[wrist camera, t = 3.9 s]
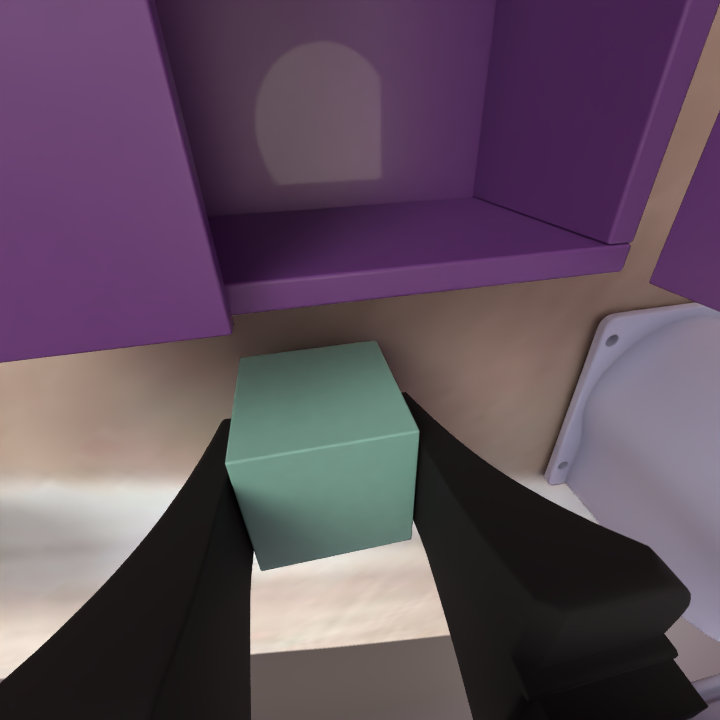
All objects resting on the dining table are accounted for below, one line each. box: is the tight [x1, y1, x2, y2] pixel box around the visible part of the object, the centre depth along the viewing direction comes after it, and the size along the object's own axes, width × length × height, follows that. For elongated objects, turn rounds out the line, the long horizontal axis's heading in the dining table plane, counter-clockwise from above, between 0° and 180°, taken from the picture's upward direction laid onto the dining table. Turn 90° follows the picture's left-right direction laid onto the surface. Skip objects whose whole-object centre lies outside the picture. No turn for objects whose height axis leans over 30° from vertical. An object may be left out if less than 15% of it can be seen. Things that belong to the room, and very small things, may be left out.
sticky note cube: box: [225, 340, 420, 571], centre depth 11 cm, size 4×4×4 cm
